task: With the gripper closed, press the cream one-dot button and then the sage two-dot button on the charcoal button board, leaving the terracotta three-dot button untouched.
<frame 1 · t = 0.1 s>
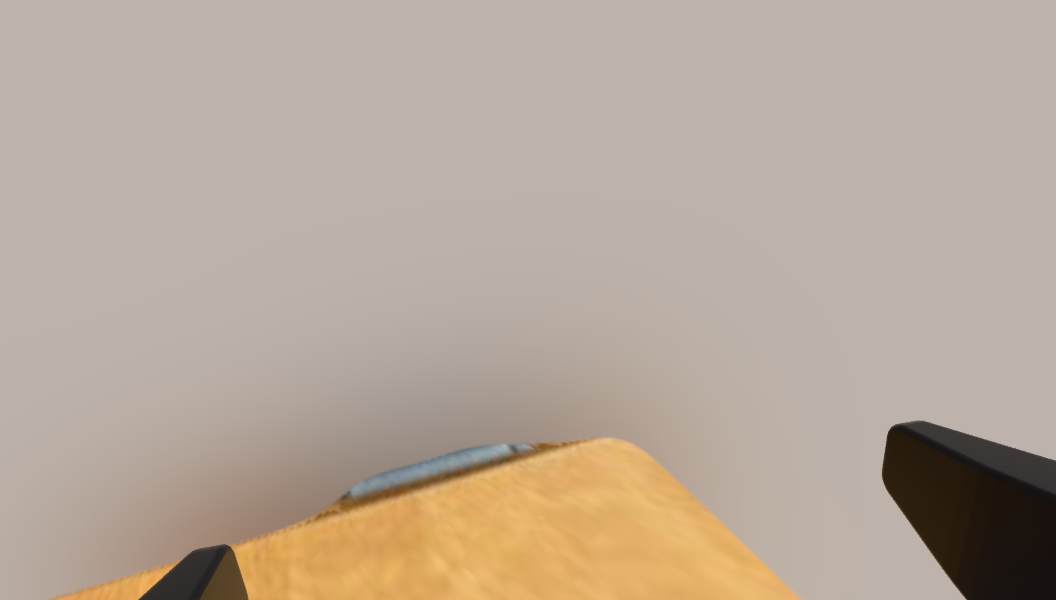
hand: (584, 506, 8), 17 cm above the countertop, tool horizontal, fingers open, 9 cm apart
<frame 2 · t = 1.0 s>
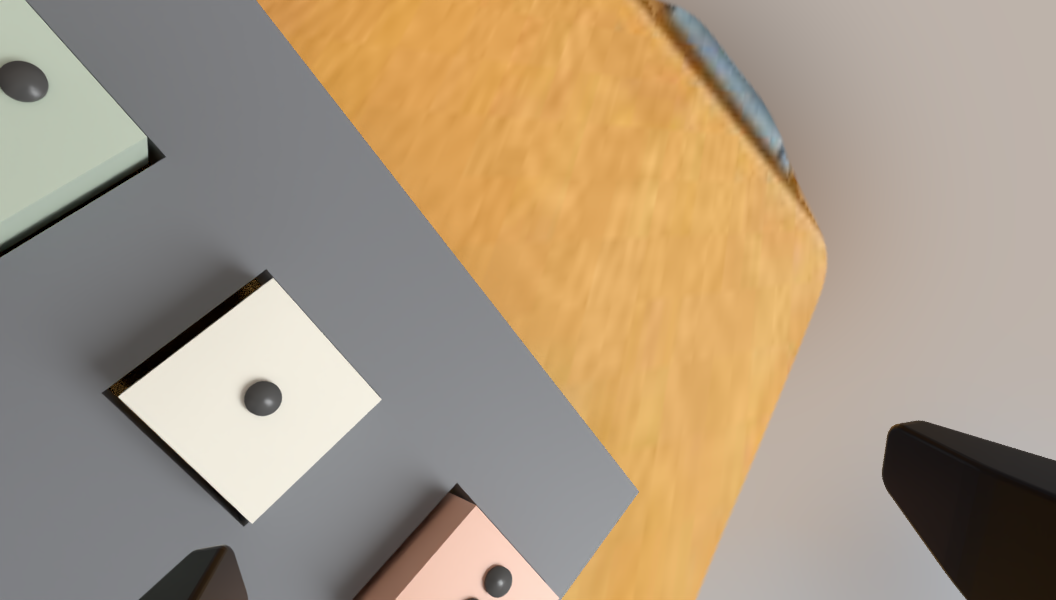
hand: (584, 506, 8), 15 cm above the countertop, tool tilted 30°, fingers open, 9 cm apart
button board: (244, 390, 20), on the countertop
one-dot button: (256, 395, 17), point 3 cm above the countertop, slide at 0.0 cm
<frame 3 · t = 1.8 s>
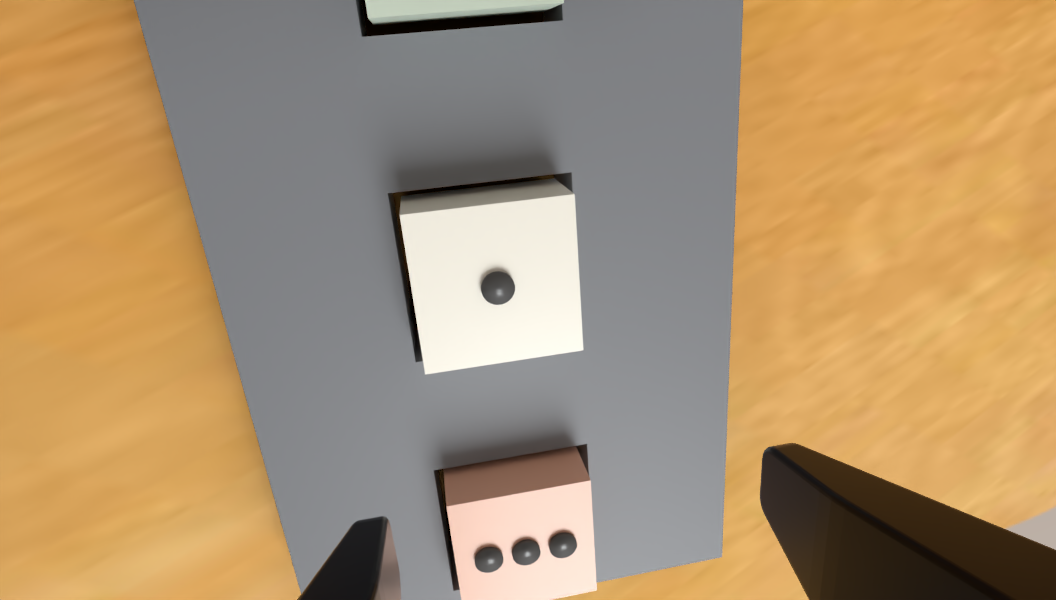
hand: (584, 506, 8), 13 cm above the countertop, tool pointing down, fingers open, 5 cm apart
button board: (482, 247, 20), on the countertop
one-dot button: (492, 273, 18), point 3 cm above the countertop, slide at 0.0 cm
three-dot button: (520, 525, 21), point 3 cm above the countertop, slide at 0.0 cm
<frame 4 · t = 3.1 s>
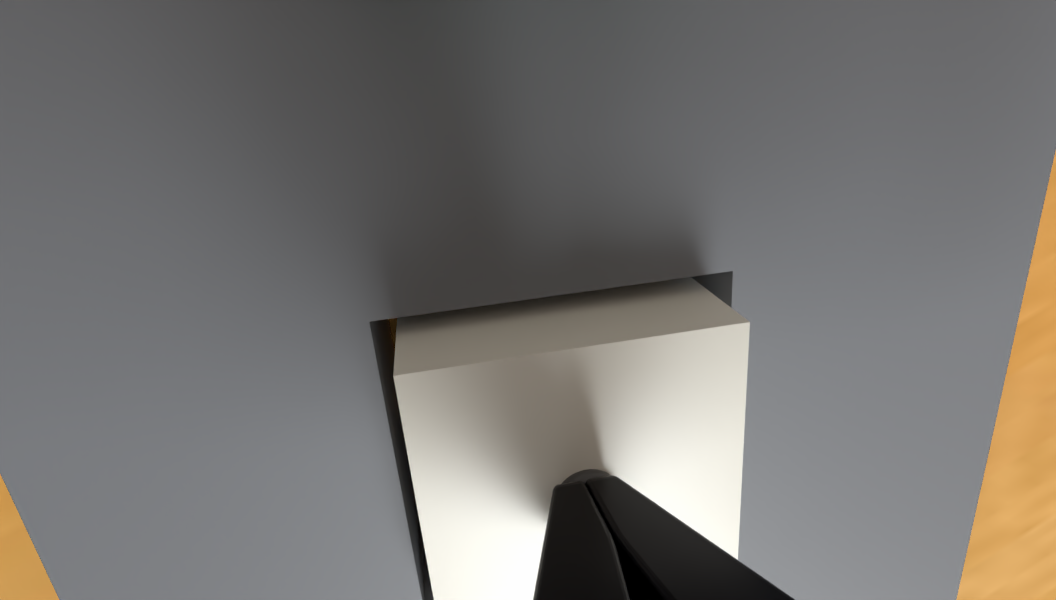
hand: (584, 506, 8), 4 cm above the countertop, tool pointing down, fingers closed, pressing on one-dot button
button board: (538, 376, 12), on the countertop
one-dot button: (567, 448, 10), point 2 cm above the countertop, slide at 0.4 cm, touching gripper
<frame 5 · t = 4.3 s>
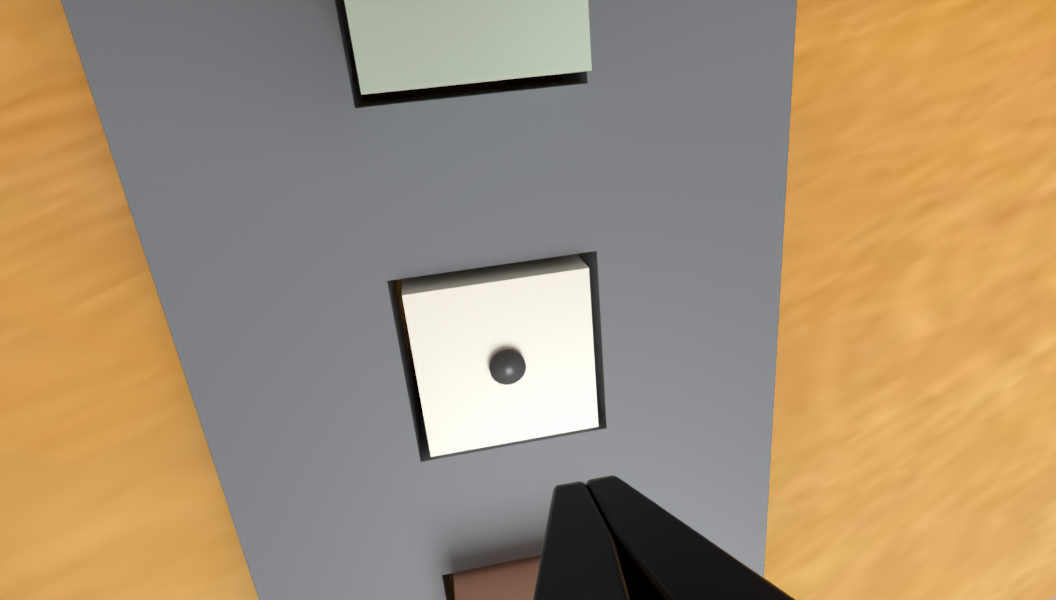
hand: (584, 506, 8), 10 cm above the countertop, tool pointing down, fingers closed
button board: (493, 323, 18), on the countertop
one-dot button: (500, 346, 17), point 2 cm above the countertop, slide at 1.2 cm
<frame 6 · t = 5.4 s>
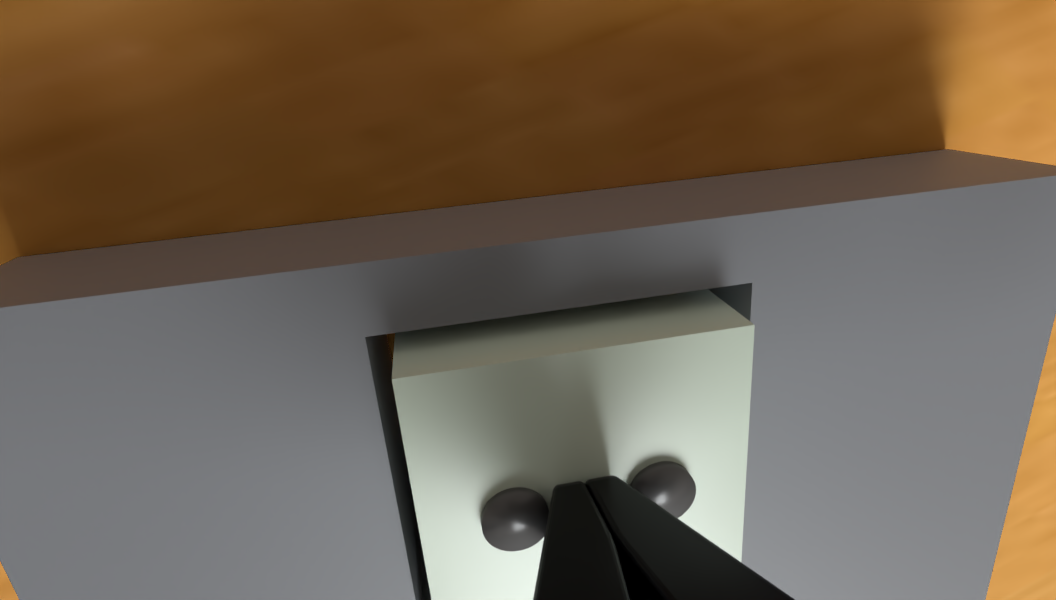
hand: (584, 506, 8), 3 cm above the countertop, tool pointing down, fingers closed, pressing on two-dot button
two-dot button: (568, 452, 9), point 2 cm above the countertop, slide at 0.9 cm, touching gripper
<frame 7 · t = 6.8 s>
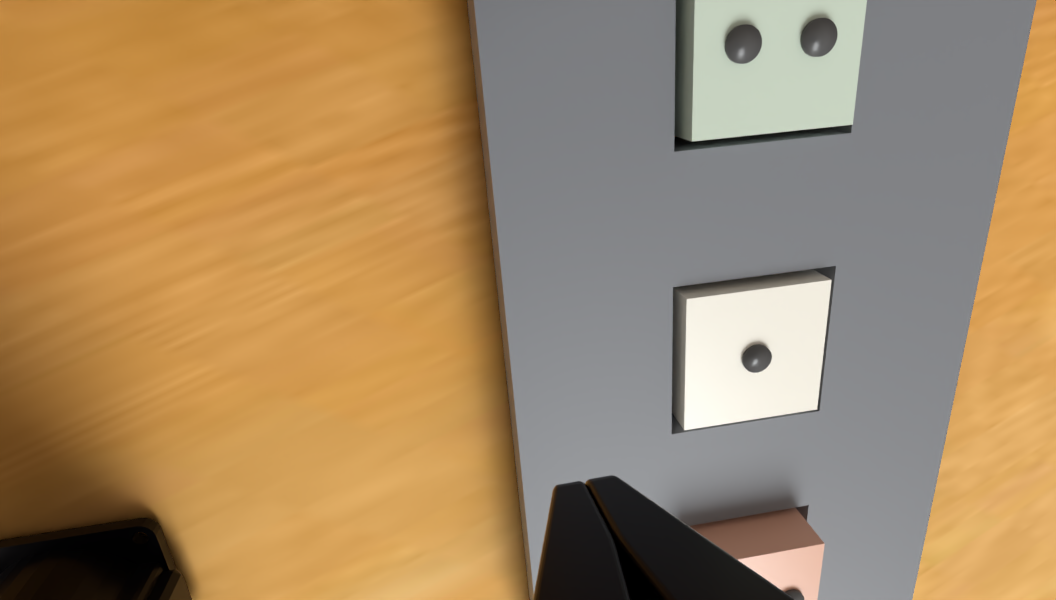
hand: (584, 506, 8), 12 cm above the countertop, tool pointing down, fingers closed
button board: (716, 321, 22), on the countertop
one-dot button: (738, 341, 20), point 2 cm above the countertop, slide at 1.2 cm
three-dot button: (741, 579, 23), point 3 cm above the countertop, slide at 0.0 cm
two-dot button: (756, 41, 17), point 2 cm above the countertop, slide at 1.0 cm
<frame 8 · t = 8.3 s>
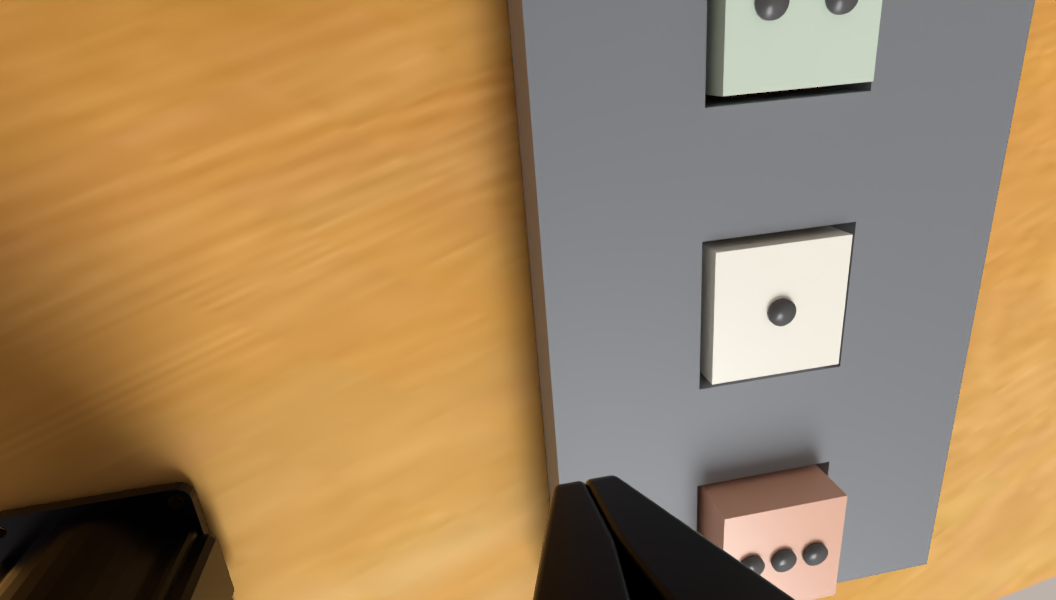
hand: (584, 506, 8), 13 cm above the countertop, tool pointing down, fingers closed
button board: (738, 283, 22), on the countertop
one-dot button: (761, 298, 21), point 2 cm above the countertop, slide at 1.2 cm
three-dot button: (765, 535, 23), point 3 cm above the countertop, slide at 0.0 cm
two-dot button: (781, 3, 18), point 2 cm above the countertop, slide at 1.0 cm
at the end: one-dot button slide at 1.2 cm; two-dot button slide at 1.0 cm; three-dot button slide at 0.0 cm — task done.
